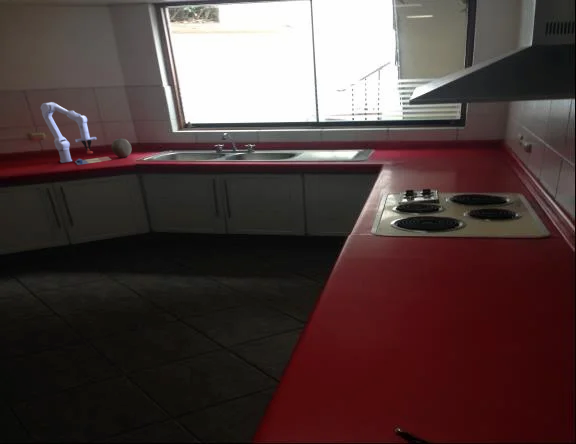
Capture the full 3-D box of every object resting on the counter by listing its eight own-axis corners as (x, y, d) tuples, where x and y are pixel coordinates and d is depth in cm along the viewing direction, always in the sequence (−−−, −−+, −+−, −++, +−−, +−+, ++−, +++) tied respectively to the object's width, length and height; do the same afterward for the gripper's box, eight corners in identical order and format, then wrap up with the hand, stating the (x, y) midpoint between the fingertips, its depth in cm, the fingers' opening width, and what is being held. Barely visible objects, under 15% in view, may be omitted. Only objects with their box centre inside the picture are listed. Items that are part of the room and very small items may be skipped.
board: (74, 161, 319) (74, 161, 319) (107, 156, 331) (107, 156, 331) (77, 165, 306) (77, 164, 306) (112, 160, 318) (111, 159, 318)
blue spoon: (84, 163, 311) (83, 159, 310) (78, 163, 309) (77, 160, 308) (82, 160, 320) (81, 157, 319) (76, 161, 318) (75, 158, 317)
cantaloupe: (114, 157, 329) (110, 138, 323) (133, 155, 332) (129, 136, 327) (113, 160, 316) (109, 141, 311) (132, 158, 320) (129, 139, 314)
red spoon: (85, 151, 318) (84, 148, 317) (90, 151, 320) (90, 147, 319) (87, 154, 310) (86, 150, 309) (93, 153, 312) (92, 149, 311)
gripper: (74, 134, 304) (78, 152, 309) (95, 131, 312) (99, 149, 316) (73, 133, 310) (77, 151, 315) (94, 130, 317) (97, 148, 322)
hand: (88, 150), depth 316 cm, fingers closed on red spoon
